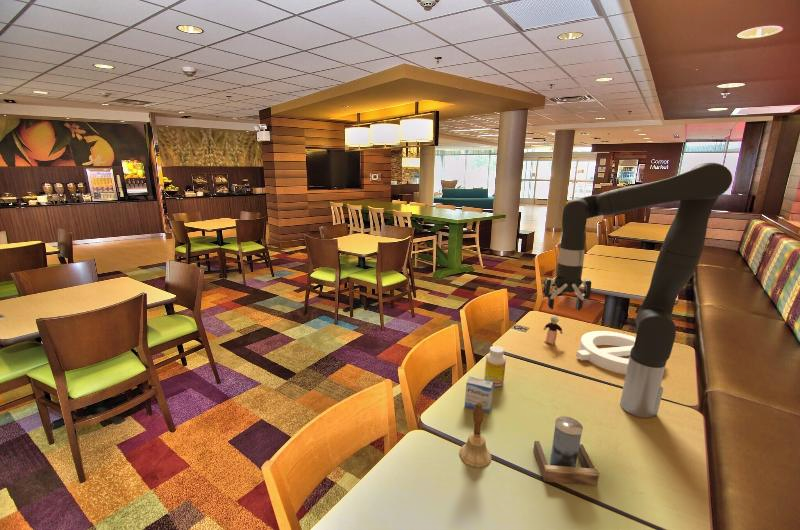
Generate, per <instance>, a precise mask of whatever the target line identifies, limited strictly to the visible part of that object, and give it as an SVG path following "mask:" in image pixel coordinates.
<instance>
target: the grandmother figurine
mask: <svg viewBox="0 0 800 530" xmlns="http://www.w3.org/2000/svg"><path fill="white" fill-rule="evenodd" d="M559 321H560V320H559V318H558V316H557V315H552V316H550V322H548V323H547V324H546V325H545V326H544V327H543V331H546V330H547V329H548V330H547V333H546V340H544V341H543V343H545V344H550V345H551V346H556V341H557V335H558V331H559V333H560V334H561V335H562V334H563V328H562V327H561V326H560V325H559V324H558V323H559Z"/></svg>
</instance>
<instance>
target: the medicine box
mask: <svg viewBox="0 0 800 530" xmlns="http://www.w3.org/2000/svg"><path fill="white" fill-rule="evenodd" d="M465 384H466V385H465V396H464V407H465V408H470V409H473V410H474V408H475V406H476V404H477V403H478V402H479V403H481V404H482V408H483V412H484V413H490V411H491V407H492V403H493V393H494V386H493V385H494V382H492V381H487V380H484V378H478V377H475V376H470V375H469V376H468V378H467V380H466V382H465Z"/></svg>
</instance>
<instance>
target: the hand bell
mask: <svg viewBox="0 0 800 530" xmlns="http://www.w3.org/2000/svg"><path fill="white" fill-rule="evenodd" d="M472 414H473V415H472V418H473V422H474V428H473V432H472V433H471V434H469V435H468V438H467V440H466V443H465V444H462V446H461V447H460V449H459V457H460V459H461V461H463V463H465V464H466V465H467V466H470V467H472V468H477V469H479V468H484V467H487V466H489V465H490V464H491V462H492V454H491V452H490V449H489V448H488V447H487V445H486V438H485V436H484V435H482V434H481V433H482V431H481V429H482V428H481V427H482V426H481V425H482V423H483V421H484V414H485V411H483V408H482V404H481V403H479V402H478V403H477V404H476V406H475V408H474V409H473V412H472Z"/></svg>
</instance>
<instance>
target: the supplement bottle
mask: <svg viewBox="0 0 800 530" xmlns="http://www.w3.org/2000/svg"><path fill="white" fill-rule="evenodd" d="M504 353H505V350H504V348H503V347H502V346H499V345H492V346H490V347H489V353H487V354H486V355H485V356H486V357H485V366H484V367H485V368H484V376H483V377H484V378H483V380H487V381H492V382H494V385H493V387H494V388H495V387H501V386H503V385H504V381H505V372H506V362H507V359H506V356H505V355H504Z"/></svg>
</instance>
